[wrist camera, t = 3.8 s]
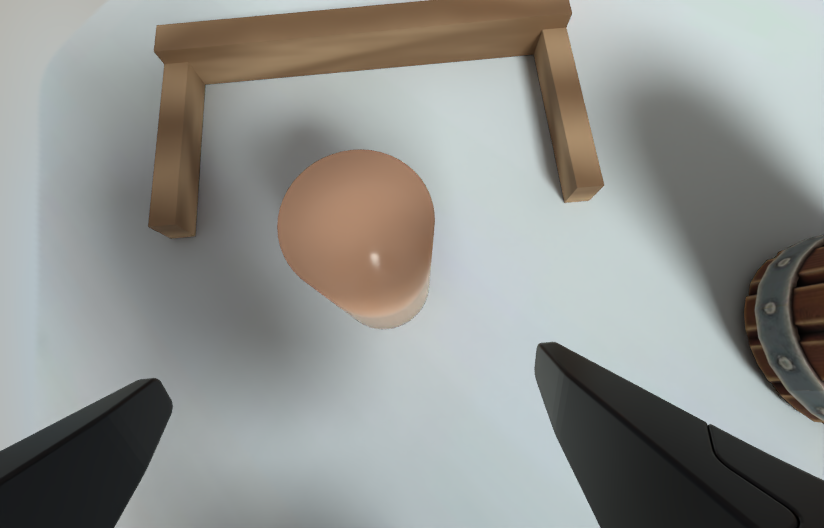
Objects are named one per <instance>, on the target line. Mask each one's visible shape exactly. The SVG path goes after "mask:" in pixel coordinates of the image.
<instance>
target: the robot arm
mask: <svg viewBox="0 0 824 528" xmlns="http://www.w3.org/2000/svg"><path fill="white" fill-rule="evenodd" d="M535 377H536V381H537V384H538V387H539V390H540V393H541V396H542V398H543V401H544V404H545V407H546V410H547V413H548V416H549V419H550V421H551V424H552V427H553V430H554V432H555V435H556V437H557V439H558V441H559V443H560V445H561V447H562V450H563V452H564V454H565V456H566V458H567V460H568V462H569V464H570V466H571V468H572V470H573V472H574V474H575V476H576V478H577V480H578V482H579V484H580V486H581V489H582V491H583V493H584V495H585V497H586V499H587V501H588V503H589V505H590V507H591V509H592V511H593V513H594V515H595V517H596V519H597V521H598V523H599V525H600V527H601V528H824V480H822V479H820V478H817V477H815V476H813V475H811V474H809V473H807V472H805V471H803V470H801V469H799V468H796V467H794V466H792V465H790V464H788V463H786V462H784V461H782V460H780V459H778V458H776V457H774V456H771V455H769V454H767V453H765V452H764V451H762V450H760V449H758V448H756V447H754V446H752V445H750V444H748V443H746V442H744V441H742V440H740V439H738V438H736V437H734V436H732V435H730V434H729V433H727V432H725V431H723V430H721V429H719V428H717V427H715V426H714V425H711V424H709V425H708V426H707V423H706V422H705V421H703V420H701V419H699V418H697V417H695V416H693V415H692V414H690V413H688V412H686V411H684V410H682V409H680V408H678V407H676V406H675V405H673V404H671V403H669V402H667V401H665V400H663V399H661V398H660V397H658V396H656V395H654V394H652V393H650V392H648V391H646V390H645V389H643V388H641V387H639V386H637V385H635V384H633V383H631V382H630V381H628V380H626V379H624V378H622V377H620V376H618V375H616V374H615V373H613V372H611V371H609V370H607V369H605V368H603V367H601V366H599V365H598V364H596V363H594V362H592V361H590V360H588V359H586V358H584V357H583V356H581V355H579V354H577V353H575V352H573V351H571V350H569V349H568V348H566V347H564V346H562V345H560V344H558V343H556V342H546V343H539V344H538V346H537V350H536V359H535ZM172 409H173V405H172V401H171V399H170V397H169V395H168V393H167V392H166V390H165V388H164V386H163V385H162V383H161V381H160V380H158V379H156V378H150V379H140V380H137V381H135V382H133V383H131V384H129V385H127V386H126V387H124V388H122V389H120V390H118V391H116V392H114V393H112V394H110V395H108V396H106V397H104V398H102V399H100V400H98V401H97V402H95V403H93V404H91V405H89V406H87V407H85V408H83V409H81V410H79V411H77V412H75V413H73V414H71V415H69V416H68V417H66V418H64V419H62V420H60V421H58V422H56V423H54V424H52V425H50V426H48V427H46V428H44V429H42V430H40V431H39V432H37V433H35V434H33V435H31V436H29V437H27V438H25V439H23V440H21V441H19V442H17V443H15V444H13V445H12V446H10V447H8V448H6V449H4V450H2V451H0V528H114V527H115V525H116V523H117V522H118V520H119V518H120V516H121V515H122V513H123V511H124V509H125V507H126V506H127V504H128V502H129V500H130V498H131V497H132V495H133V493H134V491H135V490H136V488H137V486H138V484H139V482H140V481H141V479H142V477H143V475H144V473H145V471H146V469H147V467H148V465H149V463H150V461H151V459H152V456H153V454H154V452H155V450H156V447H157V445H158V443H159V441H160V438H161V436H162V434H163V432H164V429H165V427H166V425H167V422H168V420H169V418H170V416H171V413H172Z"/></svg>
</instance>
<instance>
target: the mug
mask: <svg viewBox="0 0 824 528" xmlns="http://www.w3.org/2000/svg"><path fill="white" fill-rule="evenodd" d="M744 318H745V329H746V333H747V336H748V340H749V345H750V348H751V350H752V352H753V355H754V357H755V359H756V362H757V364H758V365H759V367H760V369H761V370H762V372H763V373H764V375H765V377H766V378H767V380H768V381H769V382H771V383H772V384H773V385H774V387H775V388H776V390H777V391H778V393H779V394H780V395H781V396H782V397H783V398H784V399H785V400H786V401H787V402H788V403H789V404H791V405H792V406H793V407H794V408H795V409H796V410H797V411H799V412H800V413H802V414H803V415H805V416H806V417H808V418H809V419H811V420H812V421H814V422H822V423H823V424H824V235H821V236H817V237H813V238H809V239H805V240H803V241H801V242H799V243H797V244H795V245H793V246H791V247H789V248H787V249H785V250H783V251H780V252H778V254H777V256H776V257H775V258H774V259H769V260H767V261H766V262H765V263H764V264H763V265H762V266H761V267H760V269H759V270H758V271H757V272H756V274H755V276H754V278H753V279H752V281H751V283H750V288H749V295H748V296H747V297H746V300H745V309H744Z"/></svg>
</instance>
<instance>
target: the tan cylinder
mask: <svg viewBox="0 0 824 528" xmlns="http://www.w3.org/2000/svg"><path fill="white" fill-rule="evenodd" d="M434 224H435V217H434V208H433V203H432V200H431V197H430V194H429V192H428V190H427V188H426V186H425V184H424V183H423V181H422V180H421V178H420V177H419V176H418V175H417V174H416V173H415V171H414V170H412V169H411V168H410V167H409V166H408V165H406V164H405V163H403V162H402V161H400V160H399V159H397V158H395V157H392V156H390V155H387V154H384V153H382V152H377V151H372V150H348V151H342V152H338V153H335V154H332V155H329V156H327V157H324V158H322V159H320V160H318V161H317V162H315V163H313V164H312V165H311V166H309V167H308V168H306V169H305V170H304V171H303V172H302V173H301V174H300V175H299V176H298V177H297V178H296V179H295V180H294V182H293V183H292V184H291V186H290V187H289V189H288V190H287V192H286V194H285V196H284V198H283V201H282V204H281V206H280V210H279V215H278V225H277V229H278V239H279V243H280V247H281V250H282V253H283V255H284V257H285V259H286V261H287V263H288V264H289V266H290V267H291V268H292V270H293V271H294V272H295V273H296V274H297V275H298V276H299V277H300V278H301V279H302V280H303V281H305V282H306V283H307V284H309V285H310V286H311V287H313V288H314V289H315V290H317V291H318V292H319V293H321V294H322V295H324V296H325V297H326V298H328V299H329V300H330V301H332V302H333V303H334V304H336V305H337V306H338V307H340V308H341V309H342V310H344V311H345V312H346V313H348V314H349V315H350V316H352V317H353V318H354V319H356V320H357V321H358V322H360V323H362V324H364V325H366V326H368V327H372V328H376V329H390V328H395V327H399V326H401V325H403V324H405V323H407V322H409V321H410V320H411V319H413V318H414V317H415V316H416V315H417V314H418V313H419V312H420V310H421V309H422V307H423V306H424V304H425V302H426V299H427V296H428V292H429V282H430V270H431V259H432V247H433V236H434Z"/></svg>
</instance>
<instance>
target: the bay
mask: <svg viewBox="0 0 824 528" xmlns="http://www.w3.org/2000/svg"><path fill="white" fill-rule="evenodd" d="M571 15H572V11H571V7H570V3H569V0H428V1H418V2H407V3H396V4H385V5H374V6H363V7H352V8H341V9H330V10H319V11H308V12H297V13H287V14H276V15H265V16H254V17H243V18H232V19H221V20H210V21H199V22H188V23H177V24H166V25H157V27H156V36H155V45H154V52H155V54H156V55H157V56H158V57H159V58H160V60H161V61H162V62H163V63H164V73H163V83H162V93H161V103H160V113H159V123H158V133H157V143H156V153H155V163H154V173H153V183H152V193H151V203H150V213H149V223H148V227H149V228H151V229H153V230H155V231H157V232H159V233H161V234H163V235H165V236H167V237H169V238H171V239H172V238H183V237H194V236H195V233H196V218H197V203H198V187H199V172H200V157H201V141H202V126H203V111H204V95H205V85H206V84H217V83H228V82H239V81H249V80H260V79H271V78H282V77H293V76H304V75H315V74H326V73H337V72H348V71H359V70H370V69H381V68H392V67H403V66H414V65H425V64H435V63H446V62H457V61H468V60H479V59H490V58H501V57H512V56H523V55H534V59H535V63H536V68H537V73H538V78H539V83H540V87H541V92H542V97H543V102H544V107H545V111H546V116H547V121H548V126H549V131H550V135H551V140H552V145H553V150H554V155H555V159H556V164H557V169H558V174H559V179H560V183H561V188H562V193H563V198H564V203H567V202H578V201H589V200H590V199H591V198H592V197H593V196H594V195H595V194H596V193H597V192H598V191H599V190H600V189H601V188H602V187H603V186H604V182H603V178H602V174H601V170H600V166H599V162H598V157H597V153H596V149H595V145H594V141H593V137H592V133H591V128H590V124H589V120H588V116H587V112H586V108H585V103H584V99H583V95H582V91H581V87H580V83H579V79H578V74H577V70H576V66H575V62H574V58H573V54H572V50H571V45H570V41H569V37H568V33H567V29H566V27H567V24H568V22H569V20H570V17H571Z"/></svg>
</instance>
